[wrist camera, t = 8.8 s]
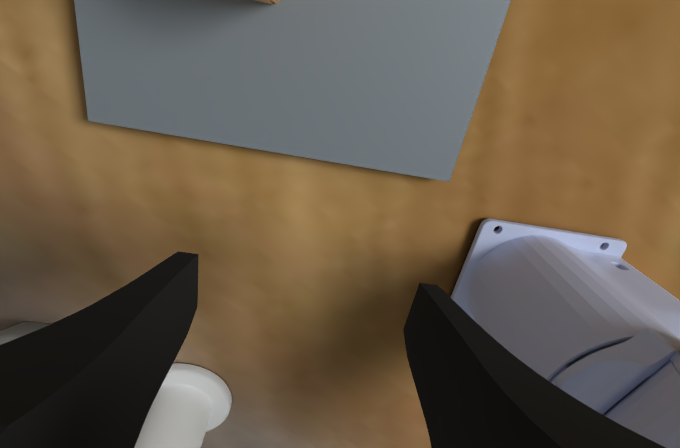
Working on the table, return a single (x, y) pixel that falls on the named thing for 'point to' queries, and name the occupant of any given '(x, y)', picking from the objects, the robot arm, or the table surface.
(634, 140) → the table surface
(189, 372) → the candle
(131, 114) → the board
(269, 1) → the cap
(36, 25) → the table surface
